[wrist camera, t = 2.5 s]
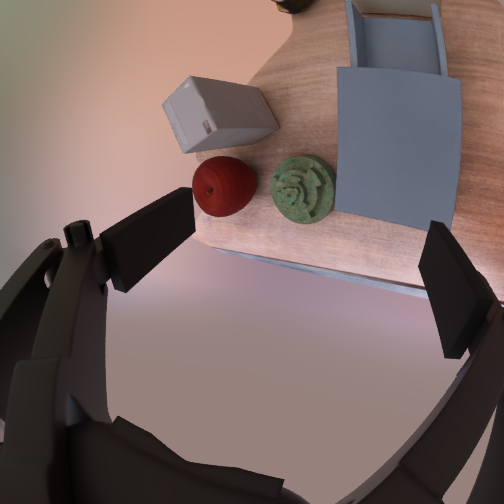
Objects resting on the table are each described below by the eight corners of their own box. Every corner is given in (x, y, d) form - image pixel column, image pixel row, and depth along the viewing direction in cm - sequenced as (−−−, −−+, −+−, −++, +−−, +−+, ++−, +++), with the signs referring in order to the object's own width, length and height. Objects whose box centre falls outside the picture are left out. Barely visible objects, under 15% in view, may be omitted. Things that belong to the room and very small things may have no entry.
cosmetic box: (232, 106, 42) (156, 105, 31) (263, 84, 38) (187, 71, 26) (252, 148, 44) (177, 158, 32) (285, 128, 39) (214, 128, 27)
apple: (222, 200, 51) (182, 214, 44) (224, 150, 47) (181, 156, 40) (265, 212, 47) (227, 229, 39) (269, 156, 42) (228, 162, 35)
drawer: (349, -18, 22) (332, -40, 17) (432, -15, 15) (429, -39, 10) (359, 103, 30) (345, 95, 25) (450, 116, 24) (456, 109, 19)
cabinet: (356, 82, 30) (336, 66, 23) (453, 93, 23) (460, 79, 16) (353, 197, 37) (334, 210, 30) (445, 217, 30) (448, 236, 23)
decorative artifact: (352, 199, 37) (313, 142, 37) (337, 210, 32) (291, 142, 32) (302, 230, 44) (268, 178, 44) (280, 245, 39) (242, 185, 39)
